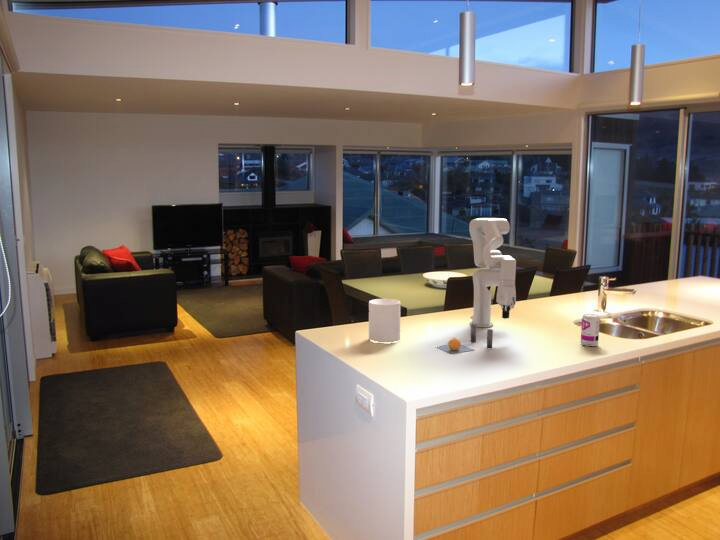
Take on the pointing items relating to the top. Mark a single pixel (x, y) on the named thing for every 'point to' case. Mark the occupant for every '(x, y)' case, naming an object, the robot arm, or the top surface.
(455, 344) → the ball
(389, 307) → the canister
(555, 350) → the top surface
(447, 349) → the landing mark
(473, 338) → the post
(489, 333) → the post
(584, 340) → the supplement can
